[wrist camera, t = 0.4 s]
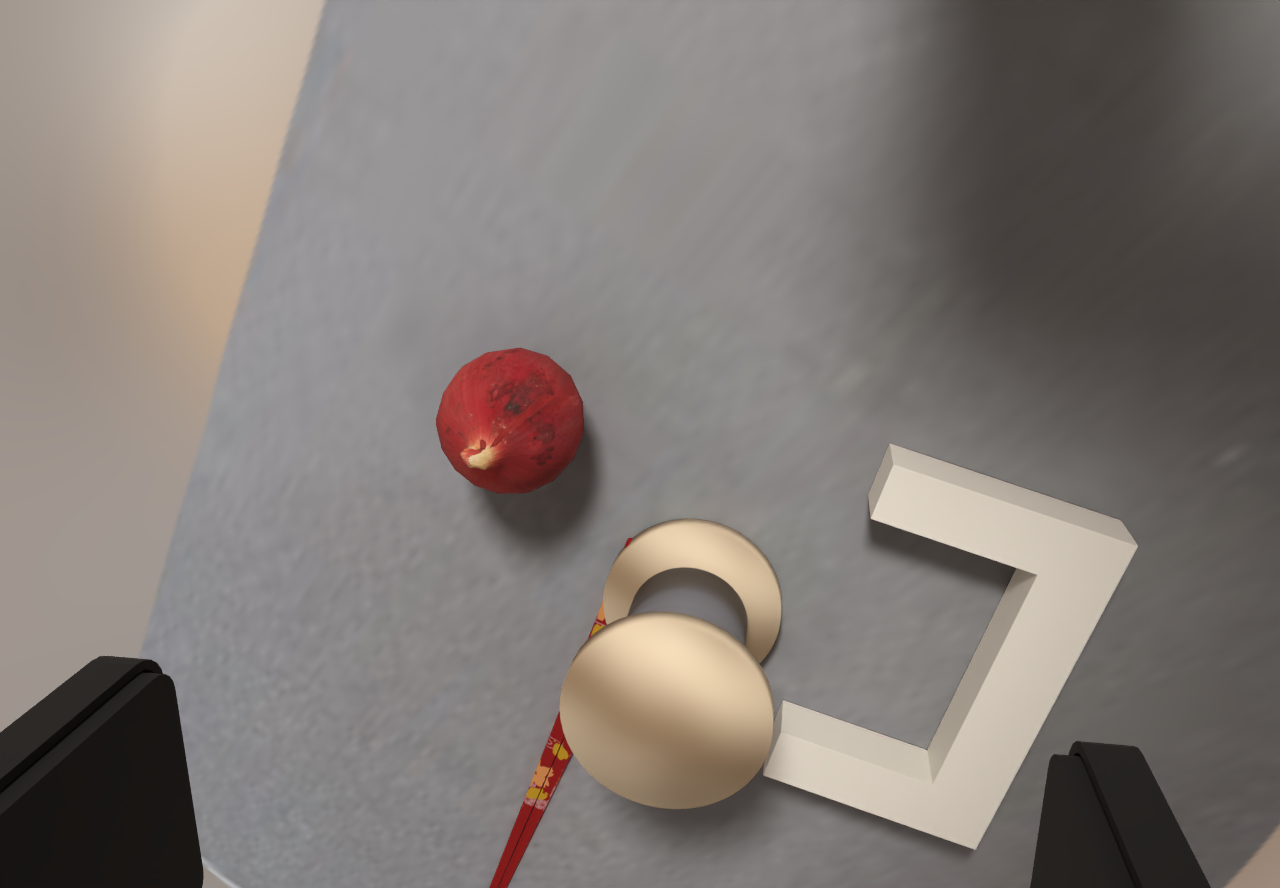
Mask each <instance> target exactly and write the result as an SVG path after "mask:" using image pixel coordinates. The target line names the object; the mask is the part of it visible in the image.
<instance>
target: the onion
mask: <svg viewBox="0 0 1280 888" xmlns="http://www.w3.org/2000/svg"><path fill="white" fill-rule="evenodd" d="M436 427H437V431H438V435H439V439H440V443H441V448H442V450H443V452H444V453H445V455H446V456H447V458H448V459H449V461H450V463H451V464H452V466H453V467H454V469H455V470H456V471H457V472H459V473H460V474H461V475H462V476H464V477H465V478H466V479H467V480H469V481H470V482H471V483H472V484H474V485H475V486H478V487H481V488H484V489H487V490H490V491H493V492H496V493H499V494H505V493H527V492H531V491H533V490H535V489H537V488H539V487H541V486H543V485H545V484H547V483H549V482H551V481H553V480H554V479H555V478H556V477H557V476H558V475H559V474H560V473H561V472H562V471H563V470H564V469H565V467H566V466H567V465H568V464H569V463H570V462H571V461H572V459H573V458H574V456H575V454H576V451H577V448H578V446H579V443H580V441H581V438H582V435H583V430H584V419H583V401H582V399H581V397H580V395H579V393H578V390H577V388H576V386H575V384H574V382H573V380H572V377H571V375H569V374H568V373H567V372H566V371H565V370H564V369H562V368H561V367H560V366H559V365H558V364H557V363H555V362H554V361H553V360H552V359H551V358H550V357H549V356H546V355H543V354H540V353H536V352H533V351H530V350H526V349H523V348H515V349H508V350H501V351H494V352H487V353H485V354H483V355H481V356H480V357H478V358H476V359H475V360H473V361H471V362H469V363H468V364H466V365H464V366H463V367H462V368H461V369H460V370H459V371H458V372H457V374H456V375H455V377H454V378H453V379H452V381H451V382H450V384H449V385H448V387H447V388H446V390H445V391H444V393H443V396H442V399H441V403H440V407H439V410H438V414H437V418H436Z"/></svg>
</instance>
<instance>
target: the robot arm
mask: <svg viewBox="0 0 1280 888" xmlns="http://www.w3.org/2000/svg"><path fill="white" fill-rule="evenodd" d="M202 885H203V866H202V859H201V853H200V846H199V840H198V833H197V827H196V820H195V814H194V807H193V801H192V794H191V788H190V781H189V775H188V768H187V762H186V755H185V749H184V743H183V736H182V730H181V723H180V717H179V710H178V704H177V697H176V691H175V686H174V683H173V680H172V679H171V678H170V676H168V675H166V674H163V673H162V669H161V668H160V666H159V665H158V664H157V663H156V662H154V661H152V660H148V659H137V658H125V657H114V656H100V657H98V658H97V659H94V660H92V661H91V662H90V663H88V664H87V665H86V666H85V667H83V668H82V669H81V670H80V671H78V672H77V673H76V674H74V675H73V676H72V677H71V678H69V679H68V680H67V681H65V682H64V683H63V684H62V685H61V686H59V687H58V688H57V689H55V690H54V691H53V692H51V693H50V694H49V695H48V696H46V697H45V698H44V699H43V700H41V701H40V702H39V703H38V704H36V705H35V706H34V707H32V708H31V709H30V710H29V711H27V712H26V713H25V714H24V715H22V716H21V717H20V718H18V719H17V720H16V721H14V722H13V723H12V724H11V725H9V726H8V727H7V728H6V729H4V730H3V731H2V732H0V888H202ZM1030 888H1211V887H1210V885H1209V883H1208V881H1207V879H1206V877H1205V875H1204V873H1203V871H1202V869H1201V868H1200V866H1199V864H1198V862H1197V860H1196V858H1195V856H1194V854H1193V852H1192V850H1191V848H1190V846H1189V844H1188V842H1187V840H1186V838H1185V836H1184V834H1183V832H1182V830H1181V828H1180V826H1179V825H1178V823H1177V821H1176V819H1175V817H1174V815H1173V813H1172V811H1171V809H1170V807H1169V805H1168V803H1167V801H1166V799H1165V797H1164V795H1163V793H1162V791H1161V789H1160V787H1159V785H1158V783H1157V781H1156V780H1155V778H1154V776H1153V774H1152V772H1151V770H1150V768H1149V766H1148V764H1147V762H1146V760H1145V758H1144V756H1143V754H1142V753H1141V751H1140V750H1139V749H1138V748H1137V747H1134V746H1126V745H1115V744H1104V743H1092V742H1081V741H1076V742H1075V743H1073V745H1072V747H1071V749H1070V752H1069V755H1058V754H1054V755H1053V756H1052V757H1051V759H1050V762H1049V767H1048V773H1047V780H1046V786H1045V793H1044V800H1043V807H1042V813H1041V820H1040V827H1039V833H1038V840H1037V847H1036V853H1035V860H1034V867H1033V873H1032V880H1031V887H1030Z"/></svg>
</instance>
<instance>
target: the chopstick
mask: <svg viewBox="0 0 1280 888" xmlns="http://www.w3.org/2000/svg"><path fill="white" fill-rule="evenodd" d="M632 539H633V538H629V539H628V540H627V542H626V545H625V547H624V548H626V547H627V546H628V545H629V544H630V543H631V541H632ZM606 625H607V623H606V620H605V615H604V606H603V603H602V605H601V608H600V610H599V613H598V615H597V618H596V620H595V623H594V625H593V628H592V630H591V633H590V635H589V638H590V637H591V636H592V635H593V634H595V633H596V632H597V631H598V630H600V629H601V628H603V627H604V626H606ZM589 638H588V639H589ZM564 736H565V735H564V732H563V728H562V724H561V719H560V711H559V714H558V716H557V719H556V721H555V724H554V726H553V729H552V731H551V734H550V736H549V739H548V741H547V744H546V746H545V749H544V751H543V754H542V757H541V759H540V762H539V764H538V767H537V769H536V772H535V774H534V777H533V779H532V782H531V784H530V787H529V789H528V792H527V794H526V797H525V799H524V802H523V804H522V807H521V810H520V812H519V815H518V817H517V820H516V822H515V825H514V827H513V830H512V832H511V835H510V837H509V840H508V842H507V845H506V847H505V850H504V852H503V855H502V857H501V860H500V863H499V865H498V868H497V870H496V873H495V875H494V878H493V880H492V883H491V885H490V888H497V887H498V885H499V883H500V881H501V878H502V876H503V874H504V872H505V869H506V867H507V865H508V862H509V860H510V858H511V856H512V853H513V851H514V849H515V847H516V844H517V842H518V840H519V838H520V835H521V833H522V831H523V828H524V826H525V824H526V822H527V819H528V817H529V815H530V813H531V810H532V808H533V806H534V804H535V801H536V799H537V797H538V794H539V792H540V790H541V788H542V785H543V783H544V781H545V779H546V776H547V774H548V772H549V770H550V767H551V765H552V763H553V760H554V758H555V756H556V754H557V751H558V749H559V747H560V745H561V742H562V740H563V738H564ZM572 753H573V752H572V750H571V749H570V747H569V745H568V743H567V740H566V738H564V740H563V742H562V745H561V747H560V749H559V751H558V754H557V756H556V758H555V760H554V763H553V765H552V767H551V770H550V772H549V774H548V776H547V779H546V781H545V783H544V785H543V788H542V790H541V792H540V794H539V797H538V799H537V801H536V804H535V806H534V808H533V810H532V813H531V815H530V817H529V819H528V822H527V824H526V826H525V828H524V831H523V833H522V835H521V838H520V840H519V842H518V844H517V847H516V849H515V851H514V853H513V856H512V858H511V860H510V863H509V865H508V867H507V869H506V872H505V874H504V876H503V878H502V881H501V883H500V885H499V887H498V888H507V886H508V884H509V882H510V880H511V878H512V876H513V874H514V871H515V869H516V867H517V865H518V863H519V861H520V859H521V857H522V855H523V853H524V851H525V849H526V847H527V845H528V843H529V841H530V839H531V837H532V835H533V833H534V831H535V828H536V826H537V824H538V822H539V820H540V818H541V816H542V814H543V812H544V810H545V808H546V806H547V804H548V802H549V800H550V798H551V796H552V794H553V792H554V790H555V787H556V785H557V783H558V781H559V779H560V777H561V775H562V773H563V771H564V769H565V767H566V765H567V763H568V761H569V759H570V757H571V755H572Z"/></svg>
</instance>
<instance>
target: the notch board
mask: <svg viewBox="0 0 1280 888" xmlns="http://www.w3.org/2000/svg"><path fill="white" fill-rule="evenodd" d="M868 499H869V508H870V517H871V519H873V520H876V521H879V522H882V523H885V524H888V525H891V526H894V527H897V528H900V529H903V530H906V531H909V532H911V533H914V534H917V535H920V536H923V537H926V538H929V539H932V540H935V541H938V542H941V543H944V544H947V545H950V546H953V547H956V548H959V549H962V550H965V551H968V552H971V553H974V554H977V555H980V556H983V557H986V558H989V559H992V560H995V561H998V562H1001V563H1003V564H1006V565H1009V566H1012V567H1015V568H1016V570H1015V572H1014V574H1013V576H1012V578H1011V580H1010V582H1009V584H1008V586H1007V588H1006V590H1005V592H1004V594H1003V596H1002V599H1001V601H1000V603H999V605H998V607H997V609H996V611H995V613H994V615H993V617H992V619H991V621H990V623H989V625H988V627H987V629H986V631H985V633H984V635H983V637H982V639H981V641H980V643H979V645H978V648H977V650H976V652H975V654H974V656H973V658H972V660H971V662H970V664H969V666H968V668H967V670H966V672H965V674H964V676H963V678H962V680H961V682H960V684H959V686H958V688H957V690H956V692H955V694H954V697H953V699H952V701H951V703H950V705H949V707H948V709H947V711H946V713H945V715H944V717H943V719H942V721H941V723H940V725H939V727H938V729H937V731H936V733H935V735H934V737H933V739H932V741H931V743H930V746H929V748H928V750H925V749H922V748H919V747H916V746H914V745H911V744H908V743H905V742H902V741H899V740H896V739H893V738H890V737H888V736H885V735H882V734H879V733H876V732H873V731H870V730H867V729H865V728H862V727H859V726H856V725H853V724H850V723H847V722H844V721H842V720H839V719H836V718H833V717H830V716H827V715H824V714H821V713H818V712H816V711H813V710H810V709H807V708H804V707H801V706H798V705H795V704H793V703H790V702H787V701H784V700H783V701H782V704H781V706H780V709H779V711H778V714H777V716H776V718H775V721H774V723H773V734H772V740H771V745H770V749H769V752H768V755H767V757H766V759H765V761H764V768H763V775H764V776H767V777H769V778H772V779H775V780H778V781H781V782H784V783H786V784H789V785H792V786H795V787H798V788H801V789H804V790H806V791H809V792H812V793H815V794H818V795H821V796H823V797H826V798H829V799H832V800H835V801H838V802H841V803H843V804H846V805H849V806H852V807H855V808H858V809H860V810H863V811H866V812H869V813H872V814H875V815H878V816H880V817H883V818H886V819H889V820H892V821H895V822H897V823H900V824H903V825H906V826H909V827H912V828H915V829H917V830H920V831H923V832H926V833H929V834H932V835H934V836H937V837H940V838H943V839H946V840H949V841H952V842H954V843H957V844H960V845H963V846H966V847H969V848H971V849H974V850H976V848H977V846H978V844H979V842H980V840H981V839H982V837H983V835H984V833H985V831H986V829H987V827H988V826H989V824H990V822H991V820H992V818H993V816H994V814H995V813H996V811H997V809H998V807H999V805H1000V803H1001V801H1002V799H1003V798H1004V796H1005V794H1006V792H1007V790H1008V788H1009V786H1010V785H1011V783H1012V781H1013V779H1014V777H1015V775H1016V773H1017V771H1018V770H1019V768H1020V766H1021V764H1022V762H1023V760H1024V758H1025V757H1026V755H1027V753H1028V751H1029V749H1030V747H1031V745H1032V743H1033V742H1034V740H1035V738H1036V736H1037V734H1038V732H1039V730H1040V729H1041V727H1042V725H1043V723H1044V721H1045V719H1046V717H1047V715H1048V714H1049V712H1050V710H1051V708H1052V706H1053V704H1054V702H1055V701H1056V699H1057V697H1058V695H1059V693H1060V691H1061V689H1062V687H1063V686H1064V684H1065V682H1066V680H1067V678H1068V676H1069V674H1070V673H1071V671H1072V669H1073V667H1074V665H1075V663H1076V661H1077V659H1078V658H1079V656H1080V654H1081V652H1082V650H1083V648H1084V646H1085V645H1086V643H1087V641H1088V639H1089V637H1090V635H1091V633H1092V631H1093V630H1094V628H1095V626H1096V624H1097V622H1098V620H1099V618H1100V617H1101V615H1102V613H1103V611H1104V609H1105V607H1106V605H1107V603H1108V602H1109V600H1110V598H1111V596H1112V594H1113V592H1114V590H1115V589H1116V587H1117V585H1118V583H1119V581H1120V579H1121V577H1122V576H1123V574H1124V572H1125V570H1126V568H1127V566H1128V564H1129V562H1130V561H1131V559H1132V557H1133V555H1134V553H1135V551H1136V549H1137V548H1138V545H1137V544H1136V542H1135V541H1134V539H1133V538H1132V536H1131V535H1130V533H1129V532H1128V530H1127V529H1126V527H1125V526H1124V524H1123V523H1122V521H1121V520H1118V519H1115V518H1112V517H1109V516H1106V515H1103V514H1100V513H1097V512H1094V511H1091V510H1088V509H1085V508H1082V507H1079V506H1076V505H1073V504H1070V503H1067V502H1064V501H1061V500H1058V499H1055V498H1052V497H1049V496H1046V495H1043V494H1040V493H1037V492H1034V491H1031V490H1028V489H1025V488H1022V487H1019V486H1016V485H1013V484H1010V483H1007V482H1004V481H1001V480H998V479H995V478H992V477H989V476H986V475H983V474H980V473H977V472H974V471H971V470H968V469H965V468H962V467H959V466H956V465H953V464H950V463H947V462H944V461H941V460H938V459H935V458H932V457H929V456H926V455H923V454H920V453H917V452H914V451H911V450H908V449H905V448H902V447H899V446H896V445H893V444H889V446H888V448H887V451H886V453H885V456H884V458H883V461H882V463H881V465H880V468H879V470H878V473H877V475H876V477H875V480H874V482H873V485H872V487H871V489H870V492H869V494H868Z"/></svg>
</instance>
